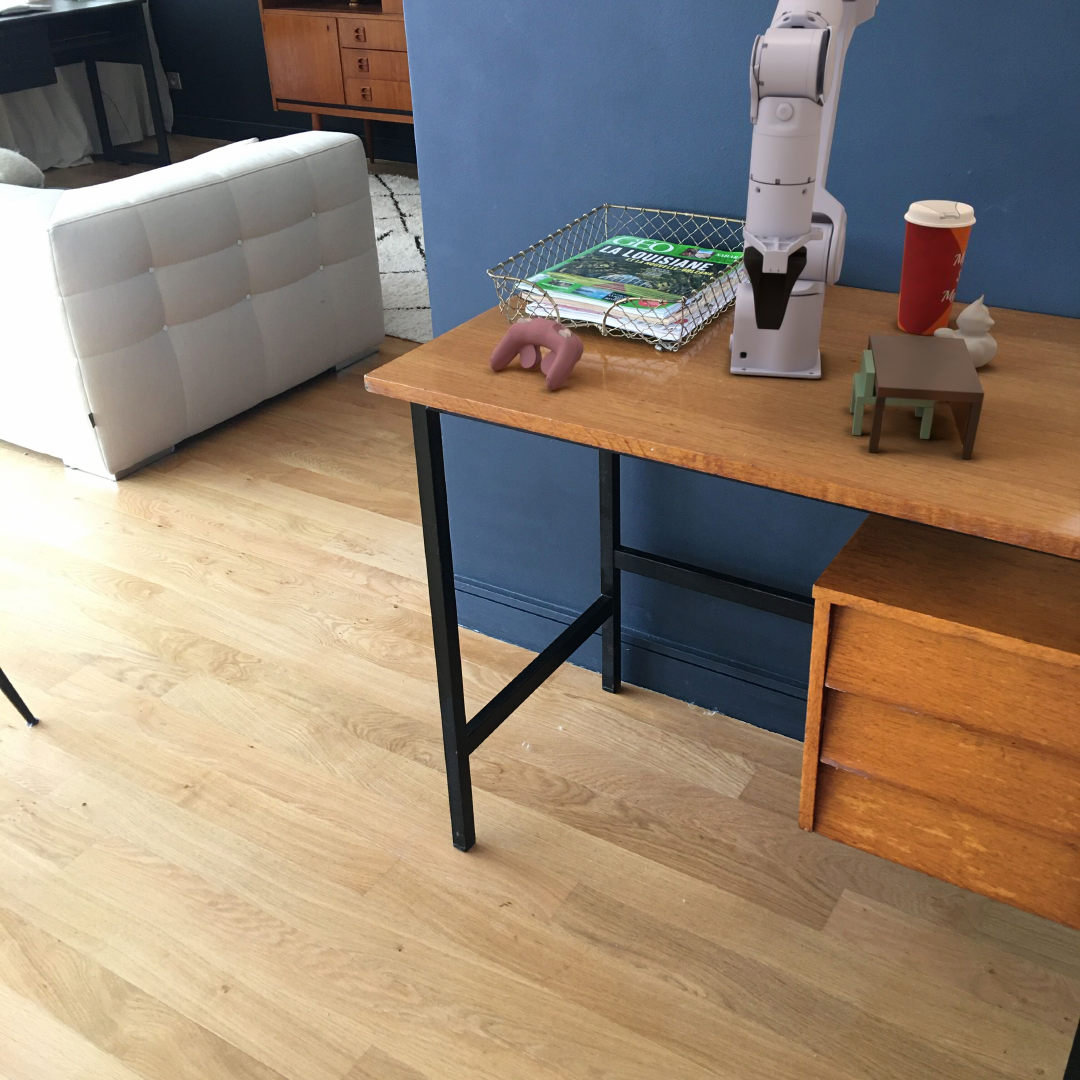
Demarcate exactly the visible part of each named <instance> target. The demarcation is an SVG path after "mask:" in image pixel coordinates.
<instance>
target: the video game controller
mask: <svg viewBox="0 0 1080 1080" xmlns="http://www.w3.org/2000/svg"><path fill="white" fill-rule="evenodd" d="M541 347H543V348H545V349H548V350H549V352H548V353H547V354H545V355H544V357H543V355H542V351H541ZM583 353H584V341H583V340H582V339H581V337H580V336H579V335H577V334H575V333H574V332H573V331H572V330H571V329H570V328H568V326H566V325H564V324H563V323H561V322H558V321H556V320H553V319H548V318H544V317H534V318H533V317H527V318H523V317H519V318H518V319H517V321H516V322H513V323H512V324H511V325H510V326H509V328H508V329H507V330H506V332H505V334H504V335H503V337H502V339H500V341H499V343H497V345H496V347H495V348H494V349H493V351H492V353H491V355H490V358H489V366H490V369H491V370H492V371H494V372H498V371H501V370H503V369H505V368H506V367H507V366H508V365H509V364H510V363H512V361H513V360H514V359H515V358H516V357H517V356H519V363H520V365H521V366H522V367H523V368H524V369H528V370H537V369H538V368H539V367H540V370H541V372H542V373H543V374H544V375H546V376H545V377H546V378H545V386H546V388H547V389H548V390H550V391H554V390H557V389H559V388H560V387H561V386H563V384H565V382H566V381H568V379H569V377H570V375H571V374H572V373H573V370H574V368H575V366H576V364H577V363H578V362H579V361H580V360H581V358H582V356H583Z"/></svg>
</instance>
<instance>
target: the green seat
mask: <svg viewBox="0 0 1080 1080" xmlns="http://www.w3.org/2000/svg"><path fill="white" fill-rule="evenodd" d="M874 380H875V367H874V361H873V355H872V350H867V349H863V350H862V357H861V365H860V372H854V373H853V379H852V387H851V397H850V405H849V413H850V414H853V419H852V428H851V434H852V436H861V435H862V431H863V421H864V413H865V405H871V406H872V405H874V406H875V400H876V387H875V381H874ZM935 405H936V400H921V399H904V398H888V397H886V401H885V406H891V407H892V406H893V407H894V406H895V407H915V408H914V416H915V417H919V418H920V417H921V425H920V431H919V438H920V439H921V440H922V439H923V440H930V436H931V430H932V425H933V416H934V412H935V411H934V410H935Z"/></svg>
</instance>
